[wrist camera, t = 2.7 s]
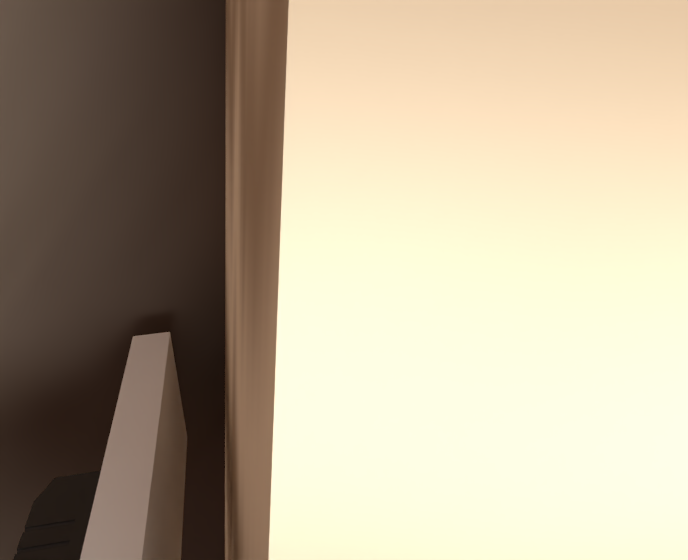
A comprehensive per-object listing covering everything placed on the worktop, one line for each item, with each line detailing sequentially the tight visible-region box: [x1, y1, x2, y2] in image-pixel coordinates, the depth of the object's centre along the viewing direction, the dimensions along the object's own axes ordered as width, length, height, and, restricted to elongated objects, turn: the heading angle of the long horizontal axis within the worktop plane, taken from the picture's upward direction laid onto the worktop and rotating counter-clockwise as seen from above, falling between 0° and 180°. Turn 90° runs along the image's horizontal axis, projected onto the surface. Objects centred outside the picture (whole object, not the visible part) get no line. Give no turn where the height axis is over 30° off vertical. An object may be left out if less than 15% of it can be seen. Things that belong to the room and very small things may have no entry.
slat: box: [225, 0, 688, 560], centre depth 11 cm, size 24×4×11 cm, turn 176°
